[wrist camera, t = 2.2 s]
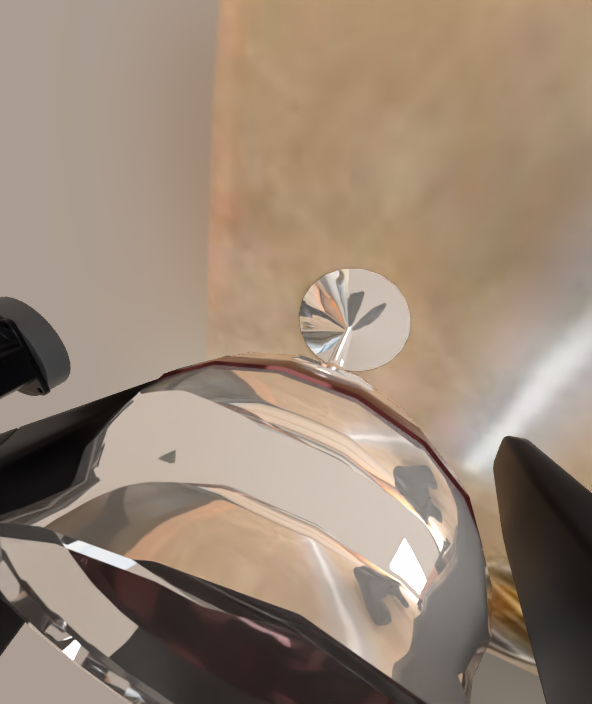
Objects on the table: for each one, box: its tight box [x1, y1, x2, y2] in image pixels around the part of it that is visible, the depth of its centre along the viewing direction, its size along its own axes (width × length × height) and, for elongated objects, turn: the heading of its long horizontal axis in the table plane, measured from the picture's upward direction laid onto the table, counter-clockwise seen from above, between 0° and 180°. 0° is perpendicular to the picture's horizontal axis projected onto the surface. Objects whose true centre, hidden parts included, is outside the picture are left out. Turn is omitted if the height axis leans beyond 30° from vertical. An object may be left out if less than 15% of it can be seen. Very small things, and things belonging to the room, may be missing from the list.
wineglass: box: [0, 268, 492, 704], centre depth 9 cm, size 7×7×12 cm
